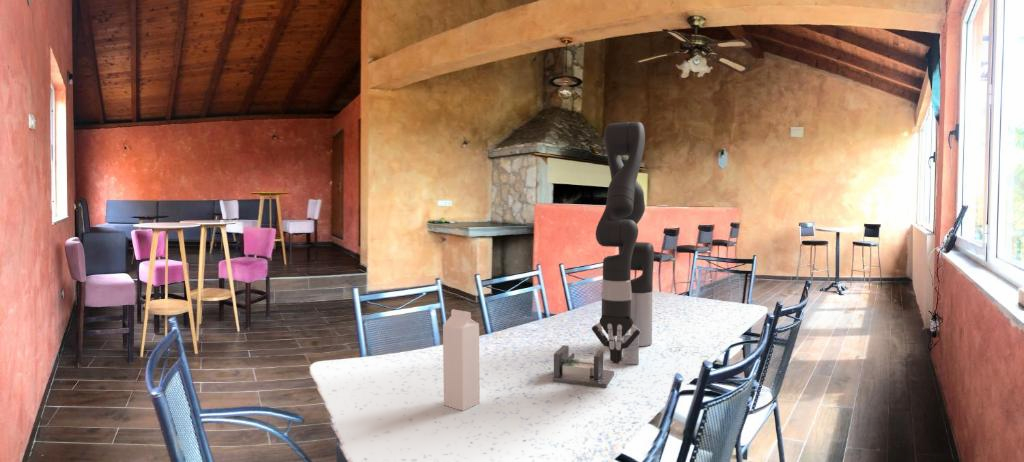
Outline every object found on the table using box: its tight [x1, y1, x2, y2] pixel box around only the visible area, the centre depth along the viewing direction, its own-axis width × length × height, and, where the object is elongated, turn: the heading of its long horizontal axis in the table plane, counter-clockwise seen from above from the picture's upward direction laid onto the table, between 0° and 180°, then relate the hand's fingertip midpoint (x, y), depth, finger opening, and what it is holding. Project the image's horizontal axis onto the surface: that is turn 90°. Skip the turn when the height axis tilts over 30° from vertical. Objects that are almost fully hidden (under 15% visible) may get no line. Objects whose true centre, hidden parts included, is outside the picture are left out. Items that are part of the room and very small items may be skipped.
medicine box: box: [622, 329, 640, 365], centre depth 158 cm, size 8×4×9 cm, turn 168°
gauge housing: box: [552, 344, 615, 389], centre depth 142 cm, size 11×14×7 cm
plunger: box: [566, 350, 604, 379], centre depth 142 cm, size 6×9×6 cm, turn 68°
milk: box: [442, 309, 481, 412], centre depth 124 cm, size 6×6×22 cm
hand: (615, 362), depth 139 cm, fingers closed
